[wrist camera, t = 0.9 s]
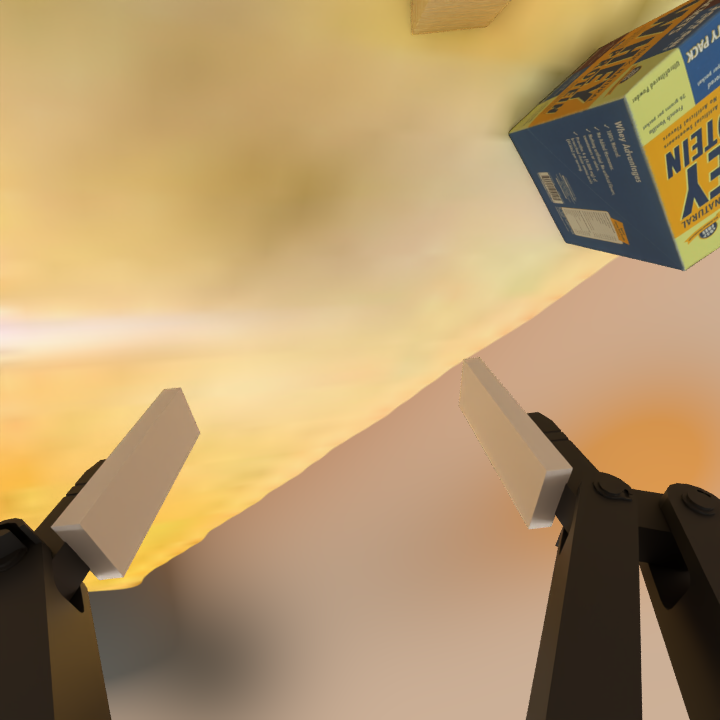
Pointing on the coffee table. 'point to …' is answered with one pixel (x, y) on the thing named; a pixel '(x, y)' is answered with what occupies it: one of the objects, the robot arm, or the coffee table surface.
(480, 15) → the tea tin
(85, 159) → the coffee table surface
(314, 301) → the coffee table surface
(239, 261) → the coffee table surface
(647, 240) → the protein box
